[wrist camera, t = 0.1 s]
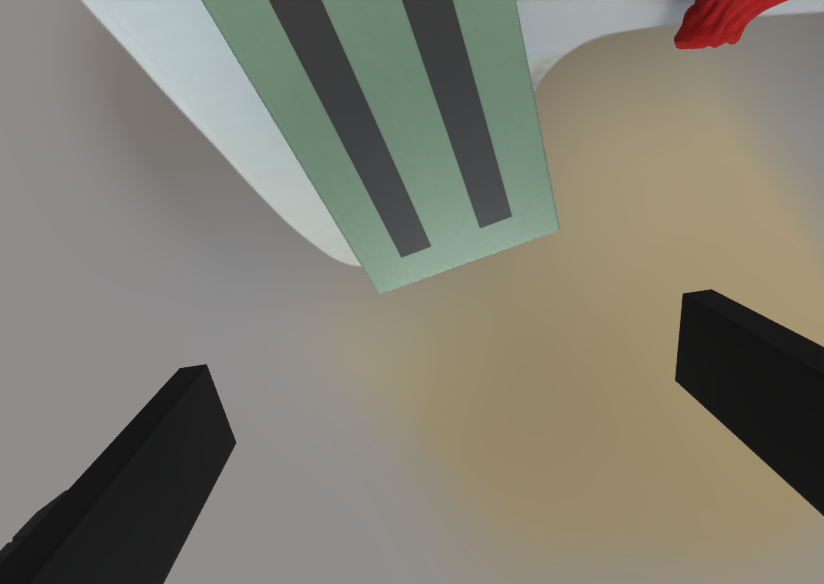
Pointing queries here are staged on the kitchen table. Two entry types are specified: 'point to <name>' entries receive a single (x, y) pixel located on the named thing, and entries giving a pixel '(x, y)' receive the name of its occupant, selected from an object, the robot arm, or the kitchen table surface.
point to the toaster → (404, 123)
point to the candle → (718, 21)
